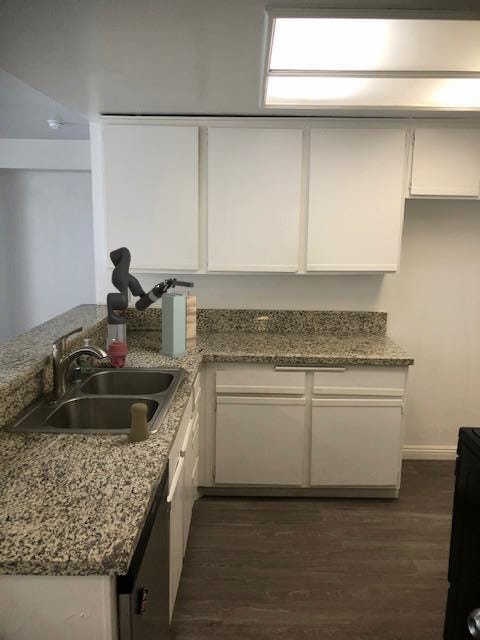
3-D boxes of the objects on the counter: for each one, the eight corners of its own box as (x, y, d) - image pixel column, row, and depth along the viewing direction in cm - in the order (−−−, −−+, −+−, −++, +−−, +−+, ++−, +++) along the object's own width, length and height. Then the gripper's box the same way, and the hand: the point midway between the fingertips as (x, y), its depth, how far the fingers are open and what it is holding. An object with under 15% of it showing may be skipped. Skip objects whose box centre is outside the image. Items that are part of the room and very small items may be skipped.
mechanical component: (119, 370, 226) (102, 367, 230) (133, 366, 235) (117, 363, 239) (118, 345, 224) (102, 342, 228) (132, 341, 233) (116, 338, 237)
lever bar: (193, 287, 261) (193, 282, 261) (190, 287, 259) (190, 282, 259) (168, 283, 276) (168, 279, 276) (164, 283, 274) (164, 279, 274)
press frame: (187, 354, 260) (188, 293, 254) (173, 357, 252) (173, 295, 247) (174, 350, 268) (174, 291, 262) (159, 353, 261) (159, 293, 255)
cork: (150, 434, 155) (150, 401, 153) (147, 441, 149) (147, 407, 147) (131, 433, 154) (130, 400, 153) (127, 441, 148) (127, 407, 147)
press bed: (195, 348, 275) (196, 296, 270) (186, 350, 270) (186, 297, 265) (184, 345, 281) (184, 294, 276) (175, 347, 276) (175, 295, 271)
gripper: (145, 287, 277) (161, 274, 266) (165, 286, 288) (181, 273, 276) (149, 299, 276) (166, 286, 265) (169, 297, 286) (185, 285, 275)
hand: (173, 279), depth 270 cm, fingers closed on lever bar, 2 cm apart
